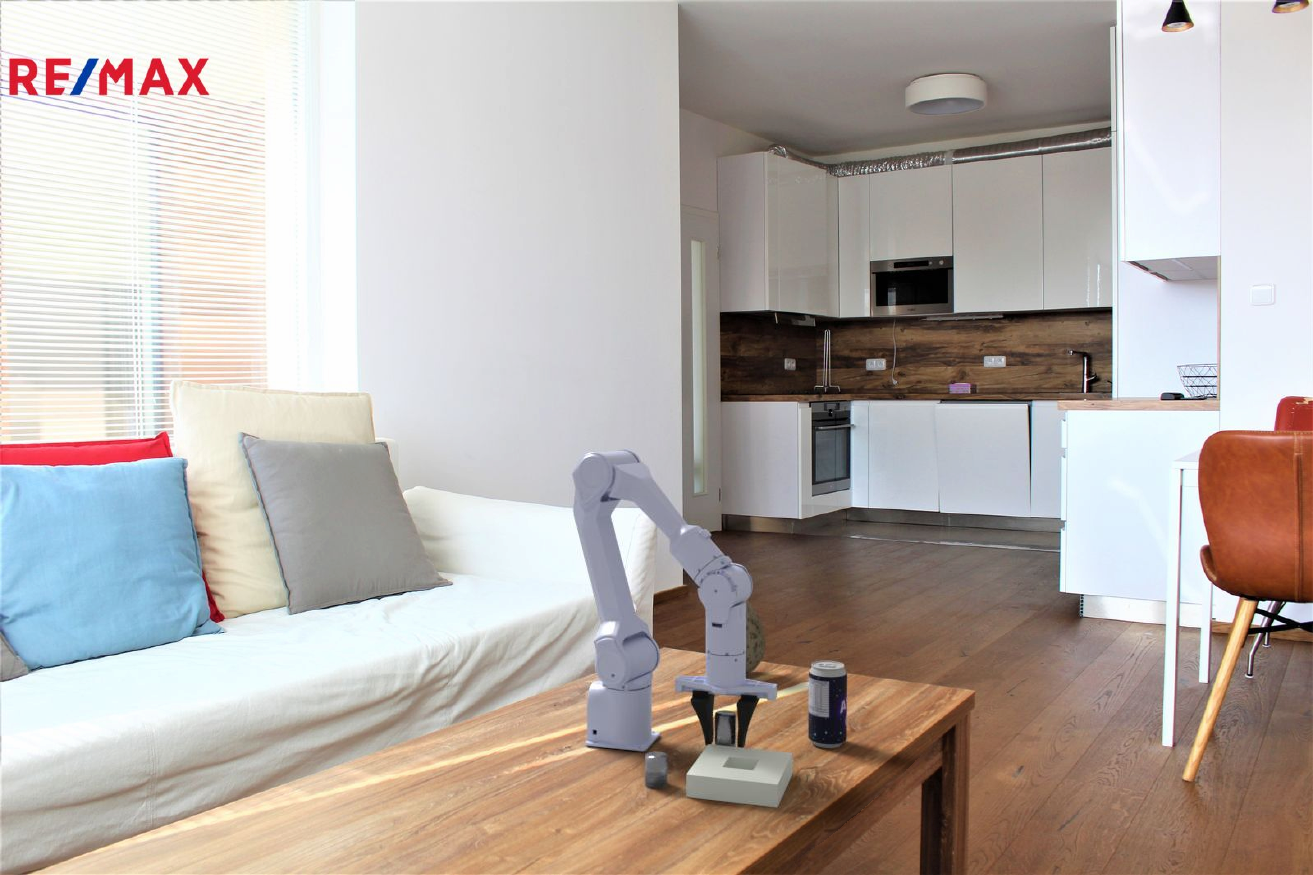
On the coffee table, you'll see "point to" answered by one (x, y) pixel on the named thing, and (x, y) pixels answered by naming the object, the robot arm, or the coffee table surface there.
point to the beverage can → (827, 704)
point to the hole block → (740, 775)
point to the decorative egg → (753, 639)
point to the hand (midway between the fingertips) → (725, 745)
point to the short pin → (656, 770)
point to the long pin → (725, 728)
